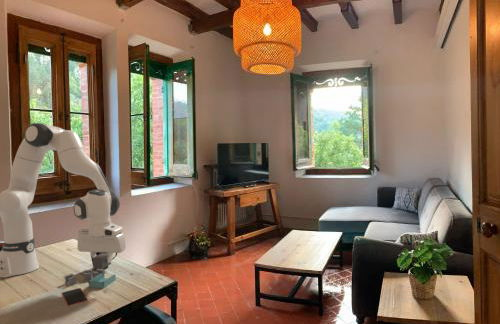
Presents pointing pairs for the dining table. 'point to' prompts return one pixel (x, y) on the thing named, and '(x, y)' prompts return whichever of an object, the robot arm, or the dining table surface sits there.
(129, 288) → the dining table surface
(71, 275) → the clip
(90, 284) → the dock
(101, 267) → the connector plug
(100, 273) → the clip
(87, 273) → the clip
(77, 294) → the smartphone
